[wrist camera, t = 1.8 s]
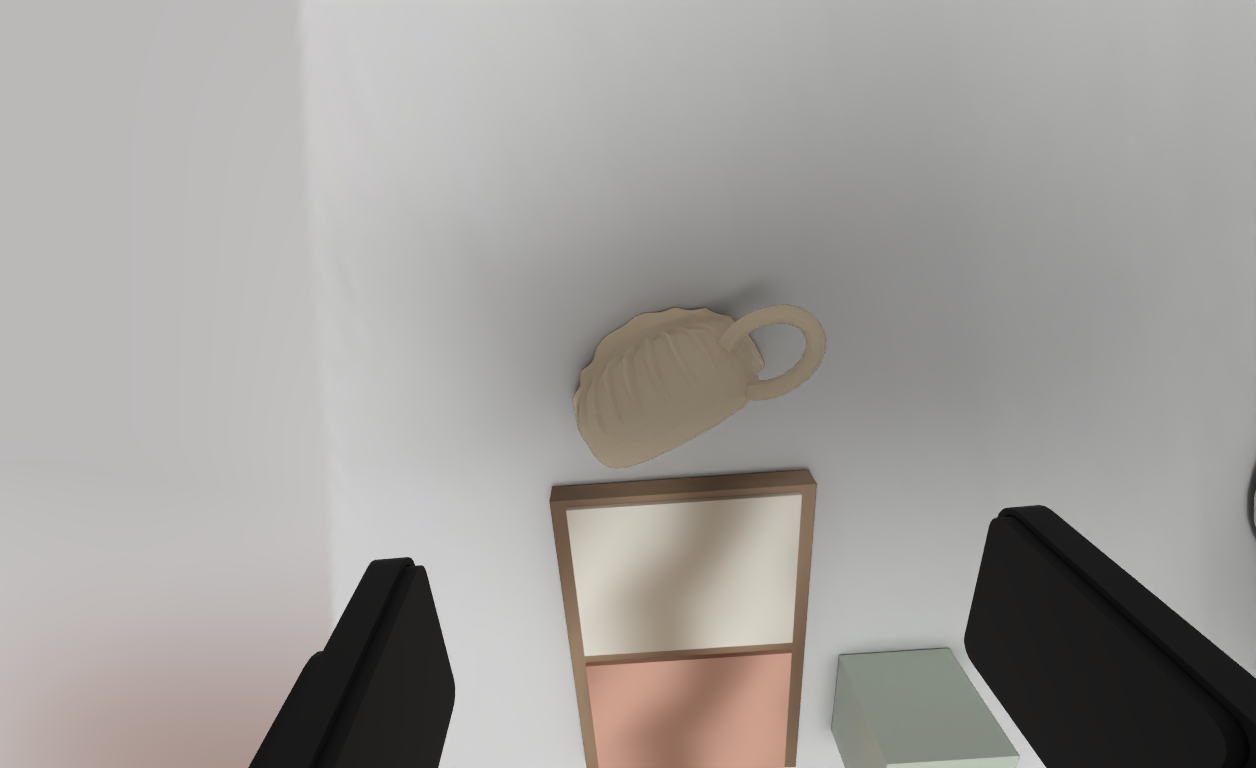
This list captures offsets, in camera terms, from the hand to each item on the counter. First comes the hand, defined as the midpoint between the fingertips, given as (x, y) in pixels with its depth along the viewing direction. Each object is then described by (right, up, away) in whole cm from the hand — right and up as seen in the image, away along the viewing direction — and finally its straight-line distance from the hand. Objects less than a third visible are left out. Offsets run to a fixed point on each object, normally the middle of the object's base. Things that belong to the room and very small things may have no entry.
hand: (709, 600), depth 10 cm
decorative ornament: (0, +4, +11) cm, 12 cm away
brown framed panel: (+1, -7, +16) cm, 18 cm away
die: (+11, -11, +18) cm, 24 cm away
